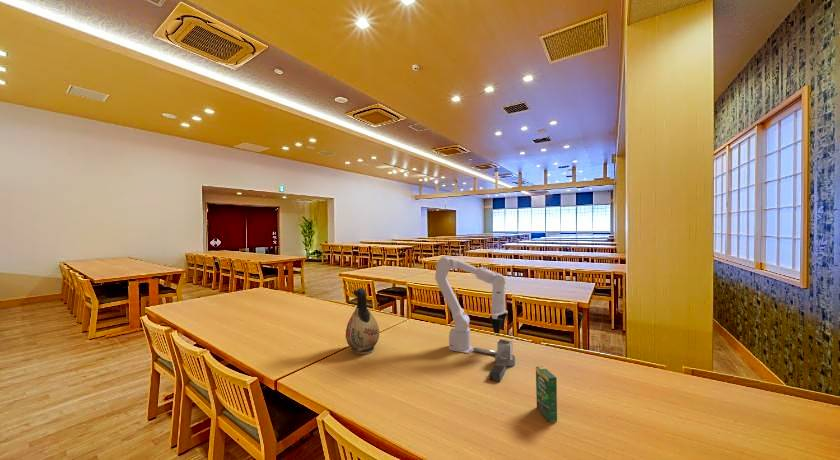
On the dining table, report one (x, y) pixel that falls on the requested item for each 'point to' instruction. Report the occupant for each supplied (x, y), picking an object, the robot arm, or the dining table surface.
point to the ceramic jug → (362, 327)
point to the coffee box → (546, 393)
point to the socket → (505, 349)
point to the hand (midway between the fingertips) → (498, 330)
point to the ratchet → (501, 367)
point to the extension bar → (484, 351)
